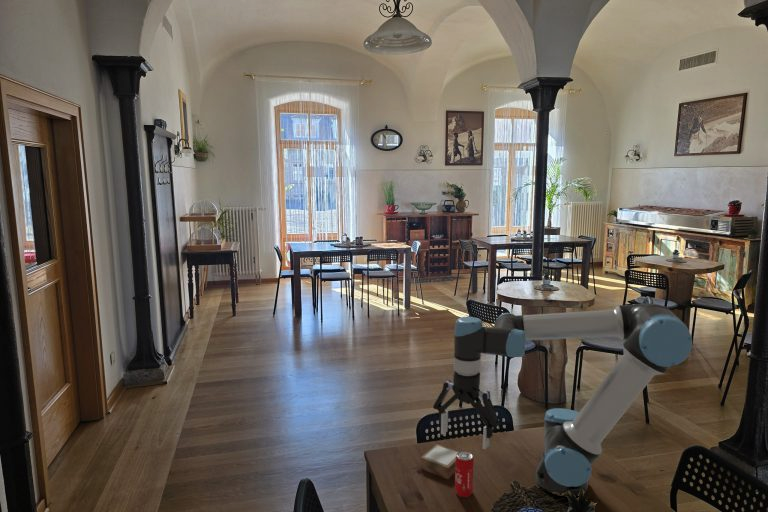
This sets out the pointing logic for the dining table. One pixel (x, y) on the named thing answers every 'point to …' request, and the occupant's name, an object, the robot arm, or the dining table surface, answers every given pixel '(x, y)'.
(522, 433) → the dining table surface
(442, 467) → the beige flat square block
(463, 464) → the beverage can
